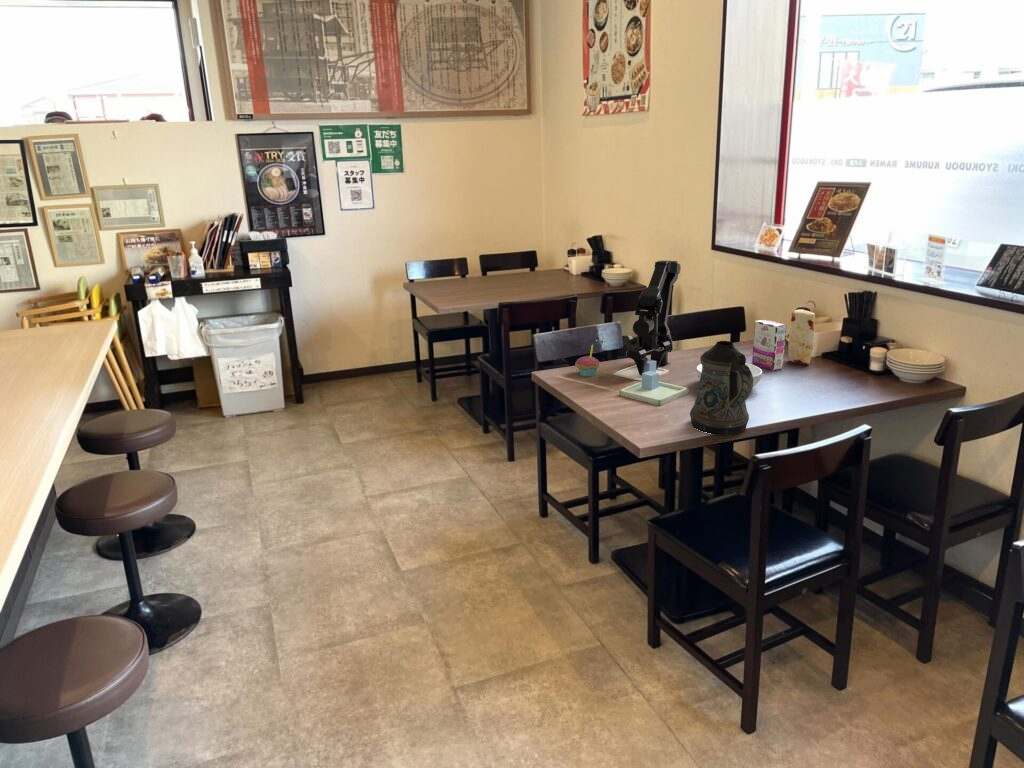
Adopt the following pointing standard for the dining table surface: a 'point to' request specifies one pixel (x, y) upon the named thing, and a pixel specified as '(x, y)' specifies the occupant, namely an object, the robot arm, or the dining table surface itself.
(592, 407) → the dining table surface
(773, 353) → the candy bar box
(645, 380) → the block
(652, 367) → the block
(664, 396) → the tray
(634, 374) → the dish
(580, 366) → the cupcake
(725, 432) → the beer stein
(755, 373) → the serving bowl
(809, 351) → the food model
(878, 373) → the dining table surface
